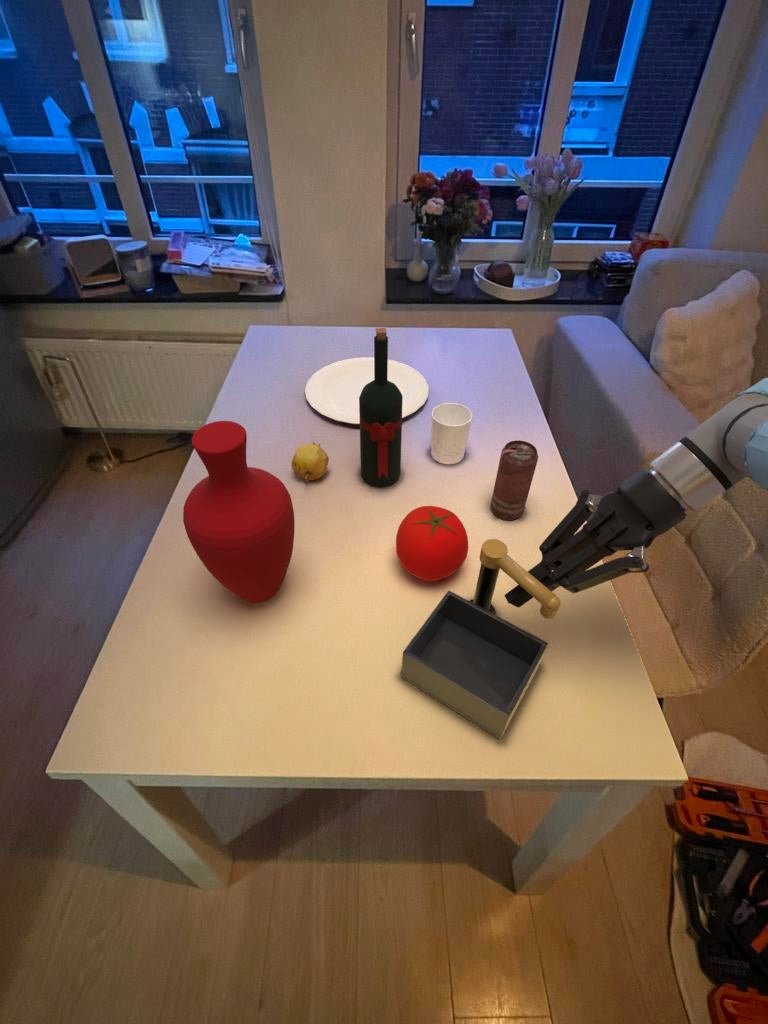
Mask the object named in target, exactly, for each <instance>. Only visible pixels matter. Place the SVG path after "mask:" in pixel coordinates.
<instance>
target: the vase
mask: <svg viewBox="0 0 768 1024" xmlns="http://www.w3.org/2000/svg"><path fill="white" fill-rule="evenodd" d="M247 442H248V435H247V430H246V428H245V427H244V426H243V425H242V424H240V423H238V422H236V421H231V420H217V421H213V422H209V423H206V424H204V425H202V426H200V427H199V428H198V429H197V430H196V431H195V432H194V433H193V435H192V437H191V444H192V447H193V449H194V450H195V452H196V454H197V455H198V457H199V458H200V460H201V463H203V465H204V467H205V469H206V471H207V474H208V475H207V476H206V477H204V478H202V479H201V480H200V481H199V482H198V483H197V484H195V486H194V487H193V488H192V489H191V491H190V492H189V494H188V495H187V497H186V499H185V502H184V505H183V510H182V511H183V513H182V522H183V525H184V529H185V532H186V535H187V539H188V540H189V542H190V545H191V546H192V549H193V551H194V552H195V553H196V555H197V557H198V558H199V560H200V561H201V563H202V564H203V565H204V567H205V568H206V570H207V571H208V572H209V574H211V576H212V577H213V578H214V579H215V580H216V581H217V582H218V583H220V584H221V585H222V586H223V587H224V588H225V589H226V590H227V591H229V592H230V593H231V594H233V595H235V596H236V597H238V598H239V599H240V600H242V601H244V602H246V603H250V604H260V603H264V602H267V601H269V600H270V599H272V598H273V597H274V596H275V595H277V593H278V592H279V590H280V588H281V586H282V584H283V582H284V580H285V577H286V575H287V572H288V569H289V566H290V563H291V560H292V556H293V550H294V542H295V521H296V520H295V511H294V505H293V501H292V497H291V494H290V492H289V491H288V489H287V487H286V486H285V484H284V482H283V481H282V480H281V479H280V478H278V477H277V476H275V475H274V474H273V473H271V472H269V471H267V470H265V469H261V468H258V467H250V466H248V461H247V444H248V443H247Z"/></svg>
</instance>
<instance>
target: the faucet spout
mask: <svg viewBox="0 0 768 1024" xmlns="http://www.w3.org/2000/svg"><path fill="white" fill-rule="evenodd" d="M508 550H509V549H508V546H507V544H505V542H504V541H502V540H500V539H496V538H489V539H486V540H485V541H483V543H482V544H481V548H480V553H479V562H480V564H481V563H482V564H483V565H484V566H485V567H487V568H490V569H497V568H500V570H501V571H502V572H504V573H505V574H506V575H507V576H508V578H511V579H512V580H513V581H514V582H515V583H516V584H517V585H520V586H521V587H522V588H523V589H524V590H526V591H527V592H528V593H529V594H530V595H531V596H533V597H534V598H533V599H535V600H536V601H537V602H538V603H540V609H539V613H540V615H541V617H543V618H544V619H547V620H552V619H555V618H556V616H557V614H558V612H559V611H558V610H559V609H560V606H561V600H560V598H559V596H558V595H556V594H555V593H554V592H553V591H552V592H551V591H550V590H549V589H548V588H547V587H545V586H544V585H543V584H542V583H541V582H539V581H538V580H537V579H536V578H535V577H533V576H532V575H531V574H530V573H529V572H528V570H527V569H525V568H524V567H523V566H521V565H520V564H519V563H518V562H517V561H516V560H514V559H513V558H512V557H511V556H510V555H509V554H508Z"/></svg>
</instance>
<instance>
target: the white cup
mask: <svg viewBox="0 0 768 1024" xmlns="http://www.w3.org/2000/svg"><path fill="white" fill-rule="evenodd" d="M472 421H473V412H472V410H471V409H469V407H467V406H465V405H463V404H460V403H456V402H445V403H440V404H438V405H436V406H435V407H434V408H432V410H431V423H430V424H431V425H430V444H431V448H430V449H431V450H430V451H431V453H430V456H431V457H432V459H433V460H434V461H436V462H438V463H439V464H443V465H456V464H457V463H461V461H462V460H463V459H464V456H465V451H466V447H467V444H468V441H469V436H470V431H471V426H472Z"/></svg>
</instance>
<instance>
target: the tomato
mask: <svg viewBox="0 0 768 1024" xmlns="http://www.w3.org/2000/svg"><path fill="white" fill-rule="evenodd" d="M395 549H396V552H395V553H396V555H397V558H398V560H399V562H400V564H401V565H402V566H403V567H404V569H406V571H407V572H408V573H410V574H411V575H413V576H414V577H416V578H418V579H421V580H424V581H430V582H431V581H432V582H434V581H439V580H443V579H445V578H447V577H450V576H452V574H454V573H455V572H457V571H458V570H459V569H460V568H461V567H462V565H463V564H464V562H465V560H466V559H467V556H468V552H469V537H468V533H467V530H466V528H465V526H464V524H463V522H462V521H461V520H460V518H459V517H458V516H457V515H456V514H455V512H453V511H451V510H450V509H447V508H444V507H441V506H435V505H422V506H419V507H416V508H414V509H412V510H411V511H410V512H408V513H407V514H406V515H405V517H404V518H403V520H402V521H401V522H400V524H399V526H398V528H397V532H396V536H395Z"/></svg>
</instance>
